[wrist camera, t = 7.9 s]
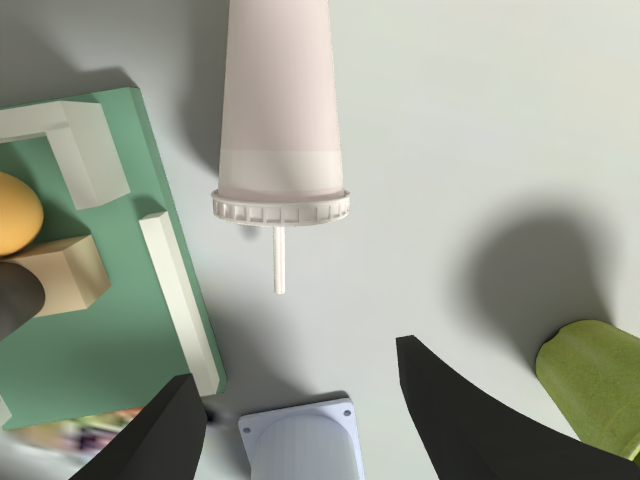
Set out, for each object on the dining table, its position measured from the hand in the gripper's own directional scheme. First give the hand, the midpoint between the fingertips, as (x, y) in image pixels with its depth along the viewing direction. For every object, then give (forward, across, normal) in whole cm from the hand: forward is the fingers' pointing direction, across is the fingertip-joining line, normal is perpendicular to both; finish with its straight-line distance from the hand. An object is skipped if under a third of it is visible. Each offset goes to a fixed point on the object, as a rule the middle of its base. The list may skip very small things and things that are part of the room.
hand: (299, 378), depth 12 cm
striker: (+8, +13, -3) cm, 16 cm away
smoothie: (+7, -2, -14) cm, 16 cm away
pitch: (+9, +13, -2) cm, 16 cm away
